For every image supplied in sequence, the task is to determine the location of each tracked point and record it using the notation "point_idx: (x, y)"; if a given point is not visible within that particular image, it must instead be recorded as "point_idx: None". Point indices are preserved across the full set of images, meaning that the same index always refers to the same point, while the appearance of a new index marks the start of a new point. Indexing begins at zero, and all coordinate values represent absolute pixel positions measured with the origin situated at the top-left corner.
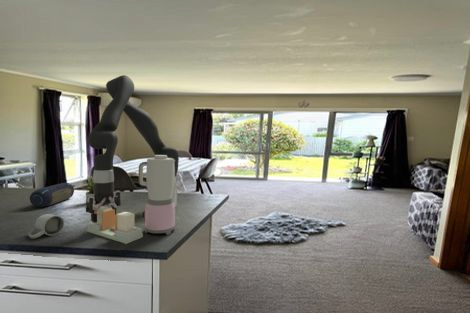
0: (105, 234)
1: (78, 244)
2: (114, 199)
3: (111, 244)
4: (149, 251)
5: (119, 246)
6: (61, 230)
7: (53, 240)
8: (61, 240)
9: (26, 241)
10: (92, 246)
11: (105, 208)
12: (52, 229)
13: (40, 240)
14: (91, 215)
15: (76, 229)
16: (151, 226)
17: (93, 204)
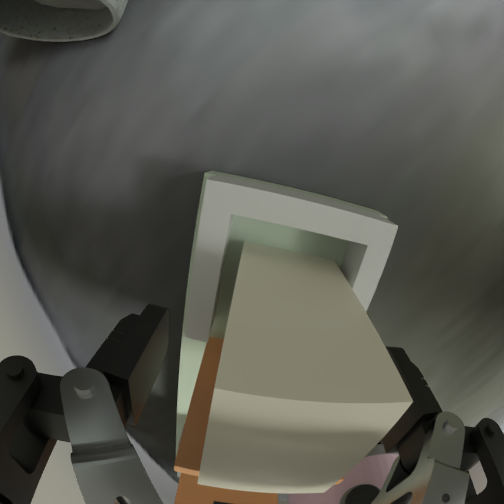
0: (180, 373)
1: (58, 293)
2: (498, 480)
3: (143, 412)
4: (177, 482)
5: (150, 435)
6: (113, 28)
7: (32, 121)
8: (42, 160)
9: (12, 37)
10: (85, 362)
11: (291, 470)
12: (77, 7)
13: (23, 68)
14: (95, 362)
15: (220, 50)
16: (288, 499)
17: (81, 489)
